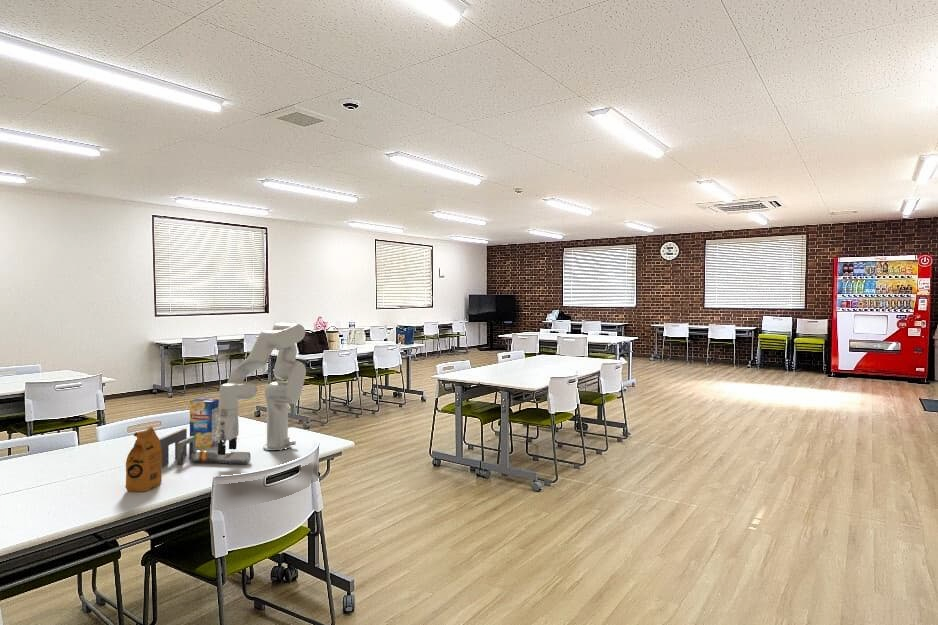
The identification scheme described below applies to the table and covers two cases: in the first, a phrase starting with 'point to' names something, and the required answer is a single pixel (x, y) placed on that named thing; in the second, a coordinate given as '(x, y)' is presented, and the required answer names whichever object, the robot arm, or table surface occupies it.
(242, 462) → the steel tube
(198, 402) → the blue food box
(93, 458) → the table surface
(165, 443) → the plate
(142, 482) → the coffee package
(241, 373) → the robot arm
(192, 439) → the collar
